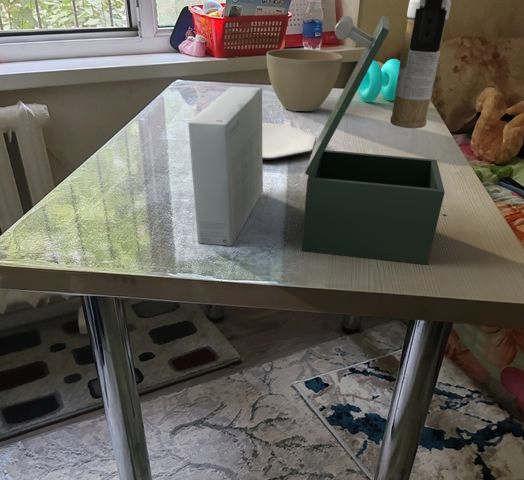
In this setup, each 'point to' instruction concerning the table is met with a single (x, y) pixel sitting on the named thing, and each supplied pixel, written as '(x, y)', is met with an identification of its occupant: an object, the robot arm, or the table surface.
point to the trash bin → (373, 206)
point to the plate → (285, 141)
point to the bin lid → (372, 47)
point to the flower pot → (302, 76)
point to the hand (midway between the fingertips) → (422, 45)
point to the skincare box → (226, 163)
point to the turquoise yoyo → (380, 81)
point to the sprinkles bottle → (415, 78)
